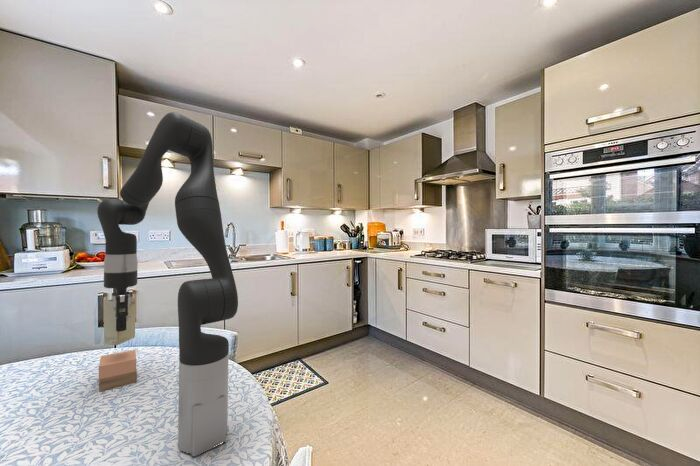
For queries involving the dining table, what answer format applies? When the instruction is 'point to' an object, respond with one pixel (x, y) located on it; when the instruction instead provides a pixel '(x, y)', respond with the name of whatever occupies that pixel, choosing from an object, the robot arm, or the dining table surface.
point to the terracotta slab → (117, 364)
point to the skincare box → (110, 324)
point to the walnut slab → (117, 381)
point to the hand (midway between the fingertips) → (120, 327)
